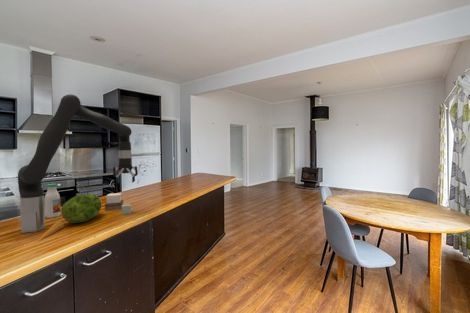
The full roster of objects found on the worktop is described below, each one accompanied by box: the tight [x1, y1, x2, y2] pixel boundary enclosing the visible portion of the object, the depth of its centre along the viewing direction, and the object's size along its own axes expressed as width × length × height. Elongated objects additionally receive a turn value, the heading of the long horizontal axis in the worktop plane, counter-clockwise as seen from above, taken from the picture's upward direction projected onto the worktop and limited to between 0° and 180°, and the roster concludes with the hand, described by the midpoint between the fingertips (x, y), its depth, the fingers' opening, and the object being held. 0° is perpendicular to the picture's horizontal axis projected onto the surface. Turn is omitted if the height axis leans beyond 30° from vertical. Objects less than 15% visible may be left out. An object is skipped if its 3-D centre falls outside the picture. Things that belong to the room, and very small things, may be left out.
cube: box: [121, 203, 132, 215], centre depth 152 cm, size 5×5×5 cm
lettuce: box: [61, 193, 103, 224], centre depth 138 cm, size 15×27×16 cm, turn 0°
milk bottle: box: [44, 183, 62, 219], centre depth 145 cm, size 8×8×20 cm
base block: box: [104, 199, 124, 211], centre depth 164 cm, size 10×10×5 cm
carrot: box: [36, 220, 65, 243], centre depth 115 cm, size 20×4×4 cm, turn 9°
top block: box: [106, 192, 123, 203], centre depth 164 cm, size 8×8×5 cm
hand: (125, 182), depth 152 cm, fingers open, 8 cm apart
